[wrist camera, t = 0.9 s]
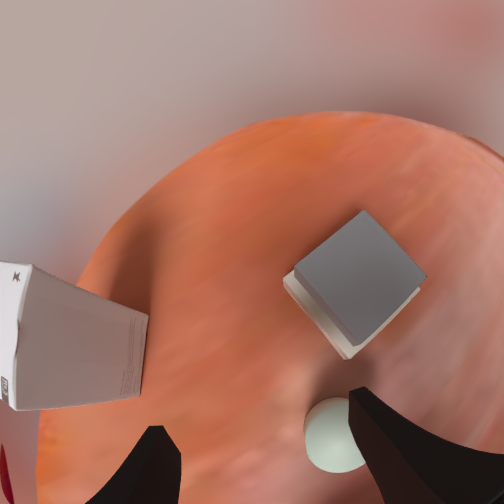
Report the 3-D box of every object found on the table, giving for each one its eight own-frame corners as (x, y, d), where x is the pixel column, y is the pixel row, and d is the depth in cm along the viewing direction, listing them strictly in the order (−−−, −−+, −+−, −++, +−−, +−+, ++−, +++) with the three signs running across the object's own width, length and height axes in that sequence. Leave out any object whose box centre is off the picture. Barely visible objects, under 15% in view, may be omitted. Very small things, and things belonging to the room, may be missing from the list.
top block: (414, 286, 20) (427, 276, 17) (353, 346, 19) (361, 344, 16) (357, 224, 22) (363, 209, 20) (294, 276, 21) (294, 265, 19)
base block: (407, 298, 22) (420, 289, 19) (342, 359, 21) (349, 359, 18) (350, 235, 25) (356, 219, 22) (284, 288, 24) (282, 278, 21)
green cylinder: (375, 425, 18) (394, 439, 13) (326, 462, 17) (333, 485, 13) (340, 384, 20) (353, 390, 15) (291, 422, 19) (290, 437, 15)
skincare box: (105, 307, 25) (-11, 250, 12) (154, 315, 24) (31, 254, 11) (94, 386, 22) (-32, 373, 9) (143, 402, 21) (9, 412, 8)
